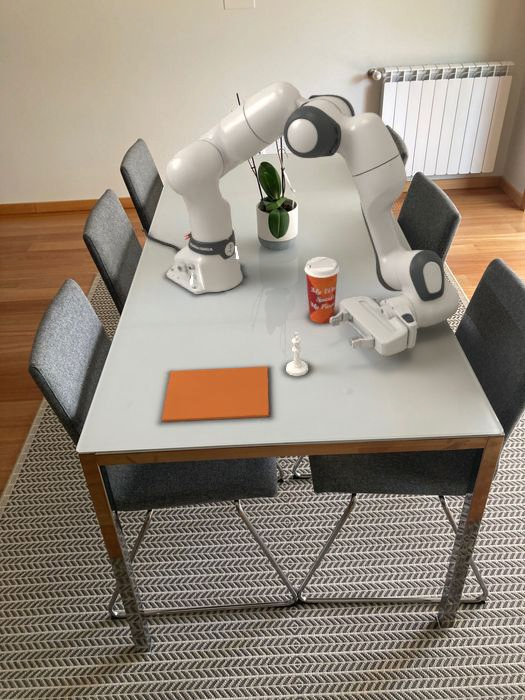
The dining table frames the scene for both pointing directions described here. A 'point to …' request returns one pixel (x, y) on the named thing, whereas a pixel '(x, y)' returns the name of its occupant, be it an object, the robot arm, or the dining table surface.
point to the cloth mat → (217, 394)
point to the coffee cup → (321, 288)
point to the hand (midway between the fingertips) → (340, 332)
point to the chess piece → (296, 360)
